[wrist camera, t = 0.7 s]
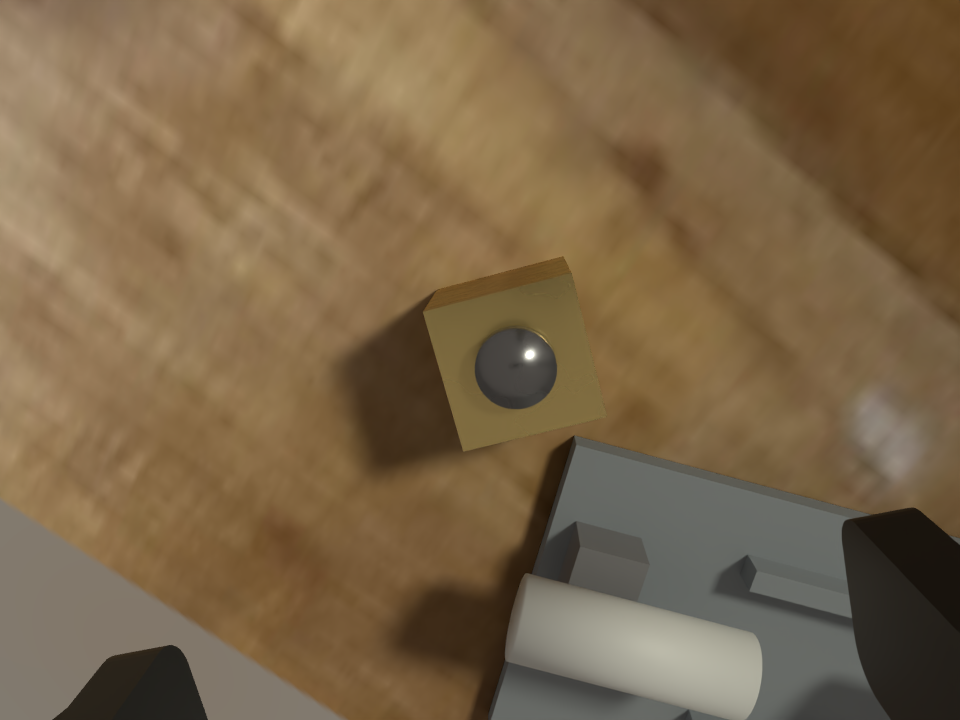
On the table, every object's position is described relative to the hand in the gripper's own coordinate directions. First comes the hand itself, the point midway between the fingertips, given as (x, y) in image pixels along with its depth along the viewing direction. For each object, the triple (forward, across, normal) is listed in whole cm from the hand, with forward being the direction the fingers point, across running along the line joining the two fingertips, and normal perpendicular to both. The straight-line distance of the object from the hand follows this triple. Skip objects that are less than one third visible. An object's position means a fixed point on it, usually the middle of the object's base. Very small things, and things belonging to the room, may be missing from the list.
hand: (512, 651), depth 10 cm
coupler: (+20, 0, 0) cm, 20 cm away
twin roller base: (+19, -8, +14) cm, 25 cm away
